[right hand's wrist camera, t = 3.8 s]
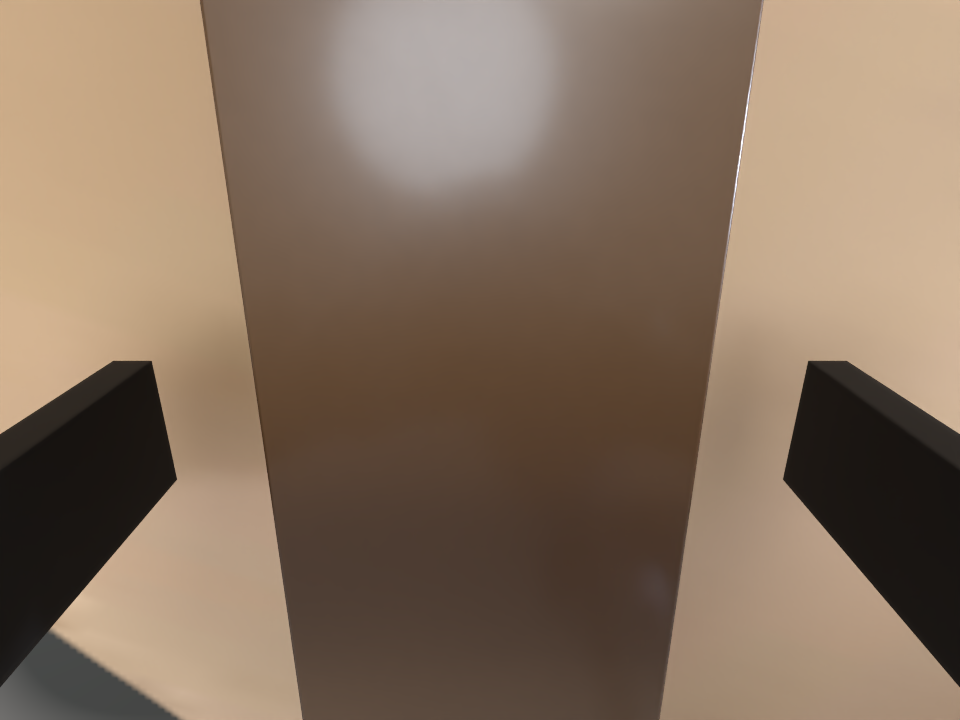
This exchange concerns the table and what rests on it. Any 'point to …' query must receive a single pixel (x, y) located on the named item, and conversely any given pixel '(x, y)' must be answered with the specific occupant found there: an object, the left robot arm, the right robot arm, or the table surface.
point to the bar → (481, 332)
